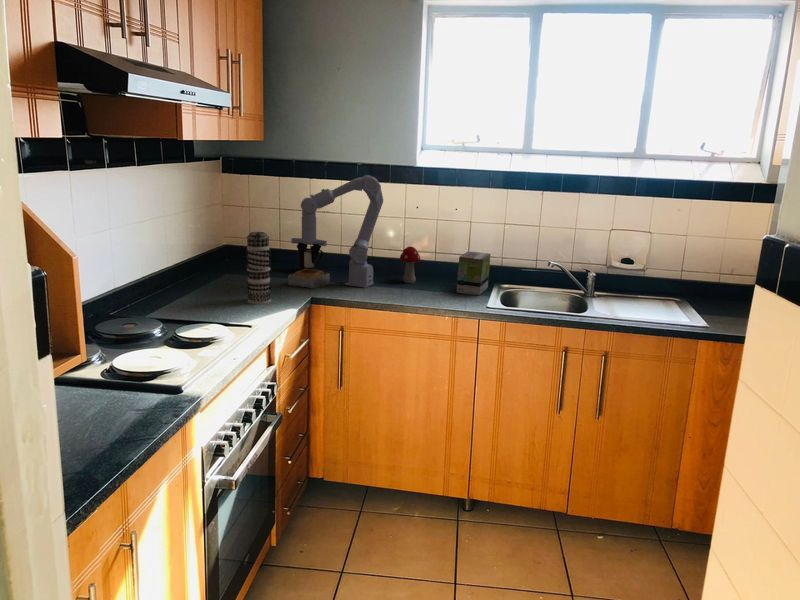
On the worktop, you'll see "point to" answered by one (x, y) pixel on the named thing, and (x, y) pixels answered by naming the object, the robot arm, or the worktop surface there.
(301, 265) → the mug
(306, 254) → the canister
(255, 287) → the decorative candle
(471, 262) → the tea box
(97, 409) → the worktop surface
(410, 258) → the decorative mushroom
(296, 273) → the housing
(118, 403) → the worktop surface
